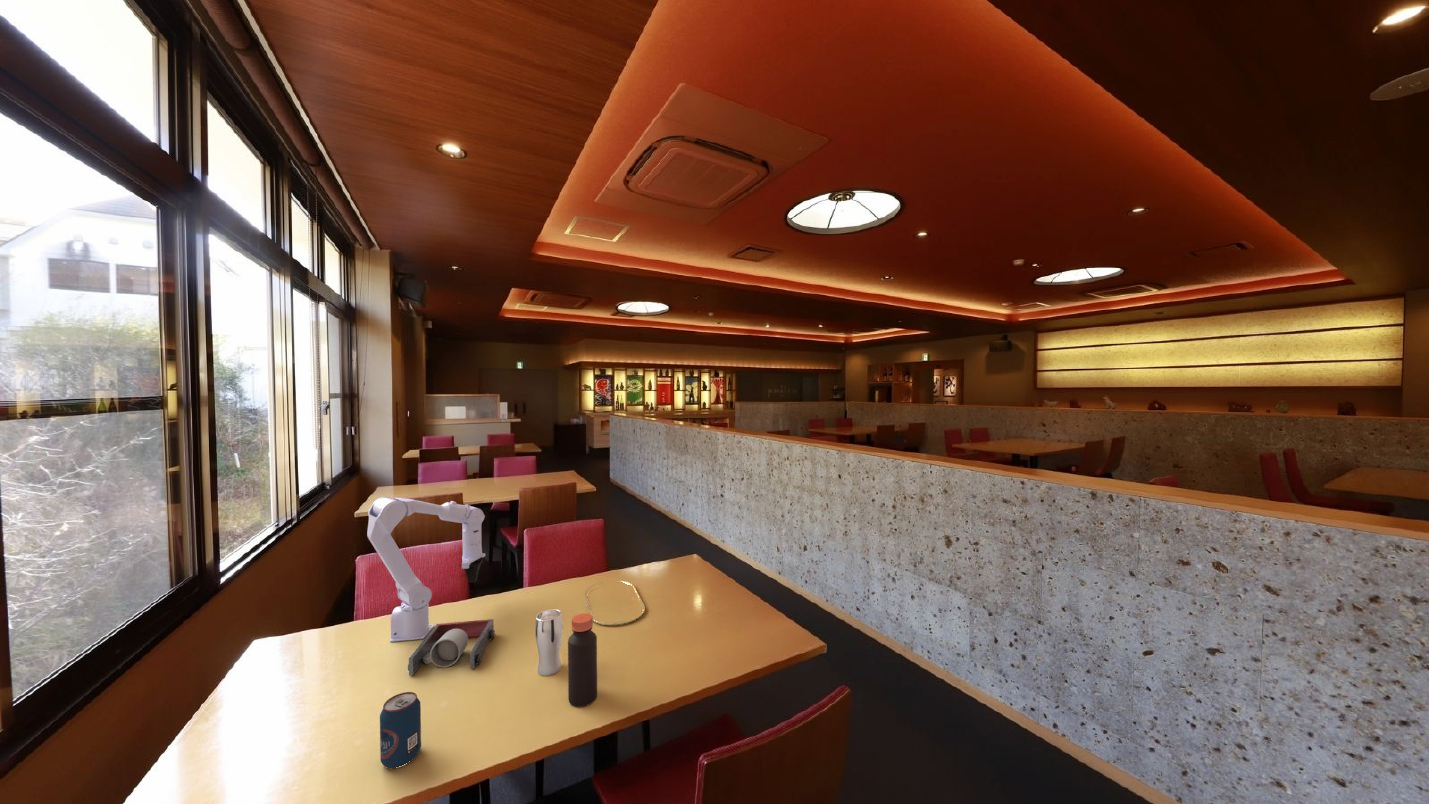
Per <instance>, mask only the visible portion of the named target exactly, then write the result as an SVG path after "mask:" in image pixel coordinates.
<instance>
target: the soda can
mask: <svg viewBox="0 0 1429 804" xmlns="http://www.w3.org/2000/svg"><path fill="white" fill-rule="evenodd" d="M421 710H422V709H421V701H420V699H419V698H418V695H417V693H415V692H413V691H406V692H400V693H398V694H395V695H392V696H391V697H389V698H388V699H387V700H385V702H384V704H383V707H382V710H381V712H380V714H379V741H380V742H379V746H380V747H379V750H380V755H379V756H380V758H379V759H380V762H381V764H382V765H383V766H384V767H385V768H386V767H387V768H386V769H388V768H396V767H399V766H402V765H404V764H406V763H408V762H409V761H411V760H412V759H414V758H415V759H416V757H417V756H416V755H418V754H419V752H420V751H421V748H422V717H421V715H422V713H421V712H422V711H421ZM415 759H414V760H415ZM411 762H412V761H411Z"/></svg>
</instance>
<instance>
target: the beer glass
mask: <svg viewBox="0 0 1429 804" xmlns="http://www.w3.org/2000/svg"><path fill="white" fill-rule="evenodd" d="M563 628H564V625H563V615H562V611H561V610H559V609H557V608H552V609H549V608H548V609H545V610H542V611H540V612H538V613H537V614H536V616H535V635H534V636H535V643H536V646H537V647H536V648H537V652H538V664H537V665H538V666H537V674H538V675H540V676H542V677H549V676H553V675H556V674H557V673H559V672H560V670H561V669H562V661H561V653H560V652H561V645H562V640H563V630H564V629H563Z"/></svg>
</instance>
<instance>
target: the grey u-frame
mask: <svg viewBox="0 0 1429 804" xmlns="http://www.w3.org/2000/svg"><path fill="white" fill-rule="evenodd" d="M452 629H462V630H464V631H465V632H466V633H467V635H468V638H473V637H474V638H475V637H477V638H478V639H477V641H476V642H475V644H474V645H473V647H472V649H471V650H470V652H469V659H470V660H469V665H470V667H469V668H470V669H471V670H473V669H475V668H476V666H477V665H479V664H481V663H482V656H483V653H484V652H485V650H486V648H487V646H488V644H489V643H490V641H491V640H493V639H494V638H495V636H496V635H495V629H494V618H491V619H489V618H488V619H479V620H467V621H456V622H454V621H453V622H444V623H436V624H435V625H434V627H433V628H432V629H431V631H430V632H429V633H428V634H427V635H426V637H425V638H424V639H423V640H422V642H421V643H420V644H419V645H418V647H417V648H416V649H415V650H414V651H413V653H412V654H411V655H410V656H409V658H408V665H407V671H408V676H414V675H415V673H416V672H417V671H418V669H420V668H421V667H420V666H422V664H423V663H424V661H423V658H424V657H425V656H426V655H427V654H428V653H429V652H430V651H431V649H432V647H433V646H434V644H435V643H436V642H437V641H438V640H439V639H440V638H441V637H442V636H443V635H444V634H445V633H446V632H448V631H450V630H452Z"/></svg>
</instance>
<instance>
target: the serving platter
mask: <svg viewBox="0 0 1429 804" xmlns="http://www.w3.org/2000/svg"><path fill="white" fill-rule="evenodd" d="M611 581H616V582H623V583H625V584H627V585H631V586H632V587H633V589H634V593H635V594H636V595H637V599H638V602H640V603H641V606H642V611H643V612H642V614H641V615H640V614H639V615H640V616H639V615H638V616H637V617H635V618H633V619H630V620H627V621H623V622H615V623H606V622H600V621H597V620H596V619H595V620H596V621H595V620H593V623H596V624H597V623H598V624H597V625H600V624H601V625H600V626H604V625H607V627H617V626H616V625H619V626H624V625H628V624H630V622H631V623H633V622H635V621H637V620H638V619H639V618H641V617H642V616H643V615H644V613H645V612H646V611H645V610H646V607H645V604H644V602H643V600H642V598H641V596H640V594H639V592H638V590H637V589H636V586H635V585H634V584H633V583H631V582H629V581H627V580H620V579H616V580H615V579H611V580H605V581H604V580H603V581H600V582H599V581H598V582H596V583H593V584H592V585H589V586H588V587H587V588H585V590H584V592H583V596H584V602H585V606H586V610H587V614H590V615H591V612H590V611H591V610H592V608H591V609H590V607H589V604H588V602H590V600H589V601H588V599H589V597H588V598H587V594H588V592H589V591H590V589H592V588H593V587H594V586H596V585H601V584H604V583H607V582H611ZM588 595H589V594H588ZM636 619H637V620H636ZM632 621H633V622H632ZM627 623H628V624H627ZM623 624H624V625H623Z"/></svg>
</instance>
